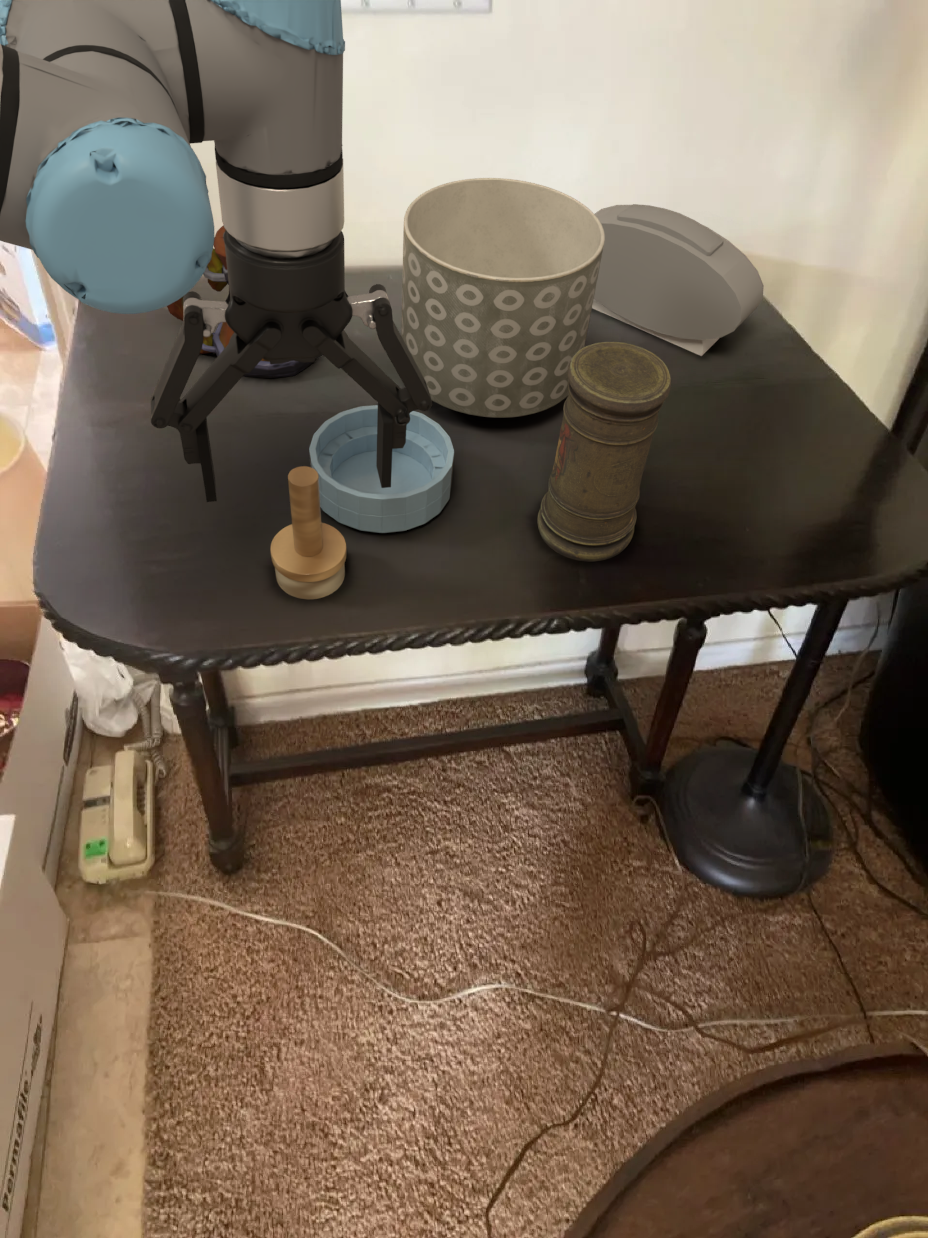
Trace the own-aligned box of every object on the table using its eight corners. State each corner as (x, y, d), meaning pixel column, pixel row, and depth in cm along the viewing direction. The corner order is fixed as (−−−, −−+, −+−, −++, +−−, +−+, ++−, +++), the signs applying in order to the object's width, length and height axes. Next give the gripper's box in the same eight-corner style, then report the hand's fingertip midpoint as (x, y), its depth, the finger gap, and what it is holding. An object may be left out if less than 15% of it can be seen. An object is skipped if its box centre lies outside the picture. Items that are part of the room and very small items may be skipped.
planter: (581, 347, 111) (610, 192, 97) (567, 453, 98) (598, 292, 84) (417, 323, 111) (423, 166, 98) (384, 425, 99) (385, 261, 85)
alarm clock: (747, 347, 113) (782, 244, 103) (724, 370, 110) (758, 267, 100) (578, 274, 121) (596, 172, 111) (552, 294, 117) (568, 191, 108)
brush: (277, 606, 83) (265, 507, 74) (270, 552, 87) (258, 453, 78) (351, 597, 84) (349, 499, 75) (342, 545, 88) (338, 446, 79)
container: (647, 522, 93) (694, 363, 79) (604, 578, 87) (647, 419, 74) (565, 484, 95) (597, 324, 82) (519, 536, 90) (545, 375, 76)
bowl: (321, 545, 88) (318, 505, 84) (305, 451, 96) (302, 410, 92) (463, 531, 90) (467, 491, 86) (435, 440, 98) (438, 400, 94)
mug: (149, 386, 101) (120, 252, 89) (155, 323, 108) (129, 191, 96) (323, 381, 103) (317, 250, 92) (318, 320, 110) (311, 191, 99)
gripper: (464, 195, 66) (442, 441, 82) (77, 203, 61) (135, 463, 77) (489, 253, 61) (461, 502, 77) (72, 266, 56) (135, 529, 72)
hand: (298, 483), depth 77 cm, fingers open, 13 cm apart
